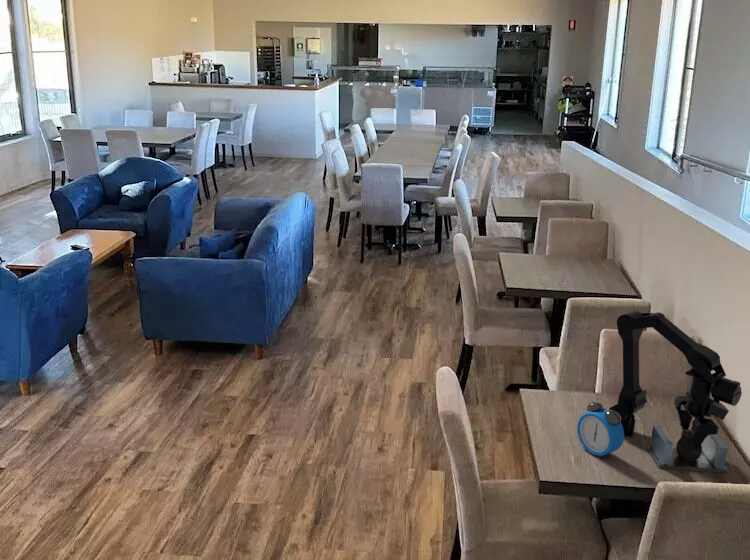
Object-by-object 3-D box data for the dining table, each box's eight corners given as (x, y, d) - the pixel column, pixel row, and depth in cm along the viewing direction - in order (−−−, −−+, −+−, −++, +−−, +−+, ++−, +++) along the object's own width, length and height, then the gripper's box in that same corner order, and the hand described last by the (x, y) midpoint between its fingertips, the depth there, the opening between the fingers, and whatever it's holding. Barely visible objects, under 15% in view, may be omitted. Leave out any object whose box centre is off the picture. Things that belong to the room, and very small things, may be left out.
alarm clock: (573, 444, 230) (580, 400, 225) (587, 439, 233) (593, 395, 229) (608, 464, 220) (615, 418, 215) (621, 459, 223) (629, 413, 219)
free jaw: (661, 464, 219) (665, 444, 217) (649, 445, 229) (653, 425, 227) (670, 465, 219) (674, 444, 217) (657, 445, 229) (661, 426, 227)
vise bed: (658, 468, 219) (663, 444, 217) (646, 448, 230) (650, 425, 227) (727, 472, 219) (732, 448, 217) (712, 453, 230) (717, 429, 227)
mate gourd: (698, 466, 219) (704, 436, 216) (671, 458, 223) (676, 428, 220) (702, 456, 225) (708, 426, 222) (675, 448, 229) (681, 419, 226)
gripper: (742, 409, 209) (731, 458, 213) (715, 380, 226) (705, 426, 231) (701, 406, 209) (691, 456, 213) (678, 378, 227) (669, 424, 231)
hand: (690, 440), depth 222 cm, fingers open, 9 cm apart
